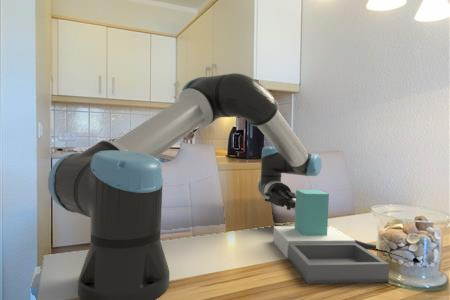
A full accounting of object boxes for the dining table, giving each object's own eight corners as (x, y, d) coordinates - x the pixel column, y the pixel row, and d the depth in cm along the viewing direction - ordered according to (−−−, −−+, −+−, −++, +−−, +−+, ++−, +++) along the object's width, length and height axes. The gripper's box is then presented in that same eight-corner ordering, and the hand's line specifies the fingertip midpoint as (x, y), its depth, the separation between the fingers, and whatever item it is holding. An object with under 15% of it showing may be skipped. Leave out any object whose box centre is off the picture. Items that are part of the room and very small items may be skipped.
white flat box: (287, 258, 71) (287, 240, 71) (273, 241, 83) (273, 226, 83) (354, 257, 73) (355, 240, 73) (331, 241, 85) (332, 226, 85)
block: (303, 235, 76) (304, 193, 75) (294, 228, 82) (296, 189, 81) (327, 235, 76) (328, 194, 76) (317, 228, 82) (318, 190, 82)
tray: (307, 283, 59) (308, 265, 59) (287, 259, 71) (288, 243, 71) (388, 282, 61) (389, 263, 61) (355, 258, 73) (356, 243, 73)
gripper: (295, 204, 110) (324, 221, 86) (258, 203, 108) (277, 221, 85) (296, 182, 109) (325, 194, 86) (259, 181, 108) (278, 193, 84)
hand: (302, 208), depth 85 cm, fingers closed
